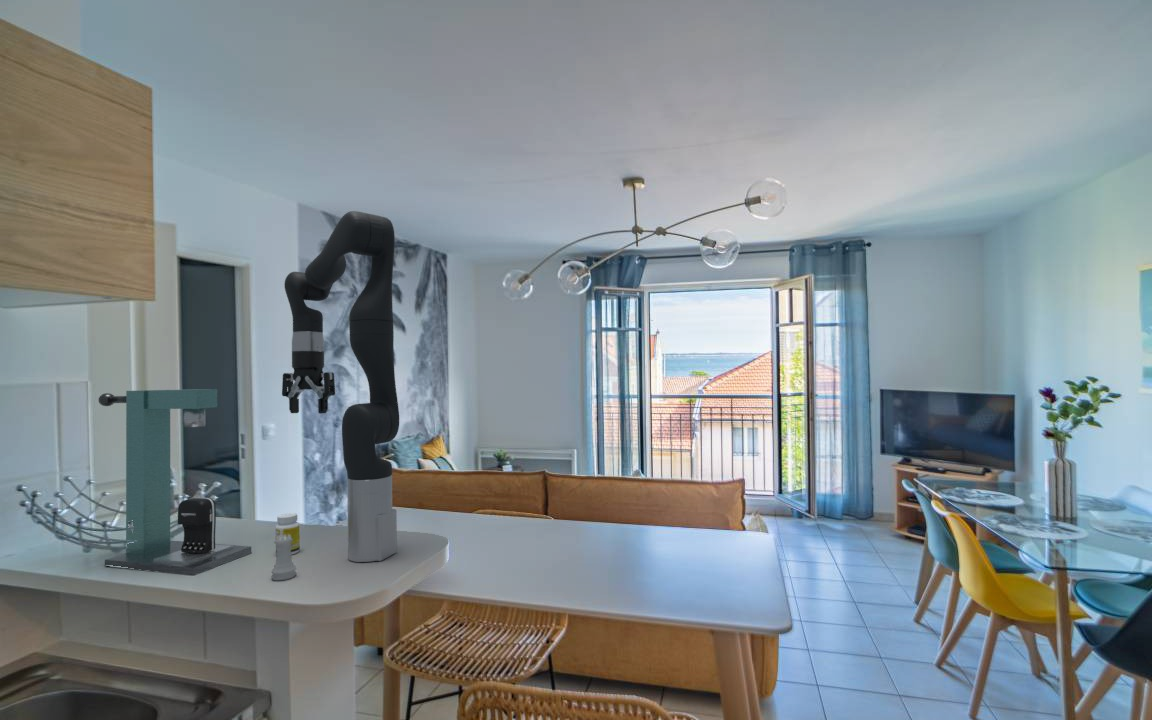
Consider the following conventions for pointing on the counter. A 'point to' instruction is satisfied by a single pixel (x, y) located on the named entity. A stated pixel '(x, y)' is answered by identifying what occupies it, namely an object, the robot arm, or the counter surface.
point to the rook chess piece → (283, 560)
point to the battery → (198, 524)
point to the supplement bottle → (289, 530)
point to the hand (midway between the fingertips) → (308, 413)
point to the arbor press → (160, 481)
